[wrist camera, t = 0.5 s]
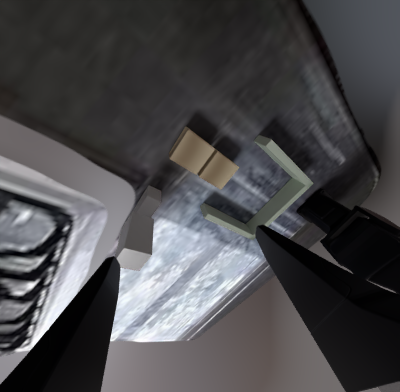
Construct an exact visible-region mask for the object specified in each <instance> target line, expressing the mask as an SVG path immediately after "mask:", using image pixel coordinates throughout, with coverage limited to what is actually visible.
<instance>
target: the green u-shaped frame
mask: <svg viewBox="0 0 400 392" xmlns="http://www.w3.org/2000/svg"><path fill="white" fill-rule="evenodd" d="M254 142H255V143H256V144H258V145H259V146H260V147H261V148H262V149H263V150H264V151H265V152H266V153H267V154H268V155H269V156H270V157H271V158H272V159H273V160H274V161H275V162H277V163H278V164H279V165H280V166H281V167H282V168H283V169H284V170H285V171H286V172H287V173H288V174H289V175H290V176H291V177H292V178H291V179H290V180H289V181H288V182H287V183H286V184H285V185H284V186H283V187H282V188H281V189H280V190H279V191H278V192H277V193H276V194H275V195H274V196H273V197H272V198H271V199H270V200H269V201H268V202H267V203H266V204H265V205H264V206H263V207H262V208H261V209H260V210H259V211H258V212H257V213H256V214H255V215H254V216H253V217H252V218H251V219H250V220H249V221H248V222H247V223H246V224H244V223H242V222H240V221H238V220H236V219H234V218H233V217H231V216H229V215H227V214H225V213H223V212H221V211H219V210H217V209H215V208H213V207H211V206H209V205H207V204H205V203H203V204H202V205H201V206H200V208H201V211H202V214H203V217H204V218H205V219H207V220H209V221H211V222H213V223H216V224H218V225H220V226H222V227H224V228H227V229H229V230H231V231H233V232H236V233H238V234H240V235H242V236H244V237H247V238H249V239H251V240H254V239H255V238H256V237H255V232H256V227H257V226H258V225H265V226H267V227H268V226H269V225H270V224H271V223H272V222H273V221H274V220H275V219H276V218H277V217H278V216H279V215H280V214H281V213H283V212H284V211H285V210H286V209H287V208H288V207H289V206H290V205H291V204H292V203H293V202H294V201H295V200H297V199H298V198H299V197H300V196H301V195H302V194H303V193H304V192H305V191H306V190H307V189H308V188H309V187H310V186H312V185H313V184H314V183H313V182H312V181H311V180H310V179H309V178H308V177H307V176H306V175H305V174H304V173H303V172H302V171H301V170H300V169H299V168H298V167H297V166H296V164H295V163H294V162H293V161H292V160H291V159H290V158H289V157H288V156H287V155H286V154H285V153H284V152H283V151H282V150H281V149H280V148H279V147H278V146H277V145H276V144H275V142H274V141H273V140H272V139H269V138H266V137H263V136H261V135H258V136H257V138H256V139H255V140H254Z"/></svg>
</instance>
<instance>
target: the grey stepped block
mask: <svg viewBox="0 0 400 392" xmlns="http://www.w3.org/2000/svg"><path fill="white" fill-rule="evenodd" d="M160 204H161V191H160V190H158V189H156V188H154V187H152V186H150V185H148V187H147V189H146V190H145V192H144V193H143V195H142V197H141V198H140V200H139V201H138V203H137V205H136V206H135V208H134V209H133V211H132V213H131V214H130V216H129V217H128V219H127V221H126V222H125V224H124V225H123V227H122V230H121V233H120V236H119V240H118V242H119V243H118V246H117V250H116V253H115V257H116V258H117V260H118V262H119V264H120V268H125V269H131V270H136V271H140V269H141V268H142V267H143V266H144V264H145V263H146V262H147V261H148V259H149V258H150V257H151V255H152V243H153V225H154V219H152V218H151V216H152V215H153V214H154V212H155V211H156V209H157V208H158V206H159V205H160Z"/></svg>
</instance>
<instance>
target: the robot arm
mask: <svg viewBox="0 0 400 392" xmlns="http://www.w3.org/2000/svg"><path fill="white" fill-rule="evenodd" d="M297 213H298V214H299V215H301V216H302V217H303V218H305V219H306V220H307V221H309V222H310V223H312V222H313V223H314V224H315V225H316V226H318V227H319V228H320V229H321V230H322V231H324V232H325V233H326V234H327V235H326V236H325V238H323V239H322V240H321V241H320V242H321V243H322V244H323V246H324V247H325V248H326V250H327V251H328V252H329V253H330V254H331V255H332V257H333V258H334V259H335V260H336V261H337V262H338V264H340V265H341V266H344V267H346V268H347V269H349V270H350V271H352V273H353V274H352V273H350V272H348V271H346V270H344V269H342V268H340V267H338V266H337V265H335V264H333V263H331V262H329V261H327V260H326V259H324V258H322V257H319V256H318V255H317V254H315V253H313V252H311V251H309V250H308V249H306V248H304V247H302V246H301V245H299V244H297V243H295V242H294V241H292V240H290V239H288V238H286V237H285V236H283V235H281V234H279V233H278V232H276V231H274V230H272V229H270V228H269V227H267V226H265V225H258V226H257V227H256V232H255V237H256V239H257V241H258V243H259V245H260V248H261V250H262V252H263V254H264V256H265V258H266V260H267V261H268V263H269V265H270V266H271V268H272V270H273V271H274V273H275V275H276V276H277V278H278V280H279V281H280V283H281V284H282V286H283V288H284V290H285V291H286V293H287V294H288V296H289V298H290V300H291V301H292V303H293V305H294V306H295V308H296V310H297V311H298V313H299V314H300V316H301V318H302V320H303V321H304V323H305V325H306V326H307V328H308V330H309V331H310V332H311V335H312V336H313V338H314V340H315V341H316V343H317V345H318V346H319V348H320V350H321V351H322V353H323V354H324V356H325V358H326V360H327V361H328V363H329V365H330V366H331V368H332V370H333V371H334V373H335V375H336V376H337V378H338V380H339V381H340V383H341V385H342V386H343V388H344V389H345V391H346V392H359V391H363V390H368V389H372V388H376V387H378V388H379V389H380V391H381V392H400V227H398V226H397V225H395V224H394V223H392V222H391V221H389V220H388V219H386V218H385V217H383V216H381V215H379V214H377V213H375V212H373V211H371V210H368V209H366V208H363V207H360V206H357V205H356V206H355V207H354V209H353V210H350V209H348V208H346V207H345V206H343V205H341V204H340V203H338V202H336V201H335V200H334V199H333V198H332V197H331V196H330V195H329V194H328V193H327V192H326V190H324V189H320V190H319V191H318V192H317V193H316V194H315V195H314V196H312V197H311V198H310V199H309V200H308V201H307V202H306V203H305V204H304V205H302V206H301V207H300V208H299V209H298V210H297ZM368 217H369V219H367V218H368ZM119 280H120V264H119V262H118V260H117V258H116V257H115V256H113V257H108V258H106V259H105V261H104V262H103V263H102V264H101V266H100V267H99V268H98V269H97V270H96V272H95V273H94V274H93V275H92V276H91V278H90V279H89V280H88V281H87V283H86V284H85V285H84V286H83V288H82V289H81V290H80V291H79V292H78V294H77V295H76V296H75V297H74V298H73V300H72V301H71V302H70V303H69V305H68V306H67V307H66V308H65V309H64V311H63V312H62V313H61V314H60V316H59V317H58V318H57V319H56V320H55V322H54V323H53V324H52V325H51V326H50V328H49V330H47V331H46V332H45V334H44V335H43V336H42V337H41V339H40V340H39V341H38V342H37V343H36V345H35V346H34V347H33V348H32V349H31V350H30V352H29V353H28V354H27V356H25V358H24V359H23V360H22V361H21V362H20V363H19V364H18V366H17V367H16V368H15V369H14V370H13V371H12V372H11V373H10V374H9V376H8V377H7V378H6V379H5V380H4V381H3V382H2V383H1V384H0V392H101V386H102V381H103V375H104V370H105V365H106V359H107V354H108V349H109V343H110V338H111V332H112V327H113V322H114V316H115V311H116V305H117V300H118V293H119ZM367 280H368V281H367ZM369 281H371V282H373V283H376V284H378V285H380V286H383V287H385V288H388V289H390V290H393V291H395V292H396V293H393V292H390V291H388V290H385V289H383V288H381V287H379V286H377V285H375V284H373V283H371V282H369Z"/></svg>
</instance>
